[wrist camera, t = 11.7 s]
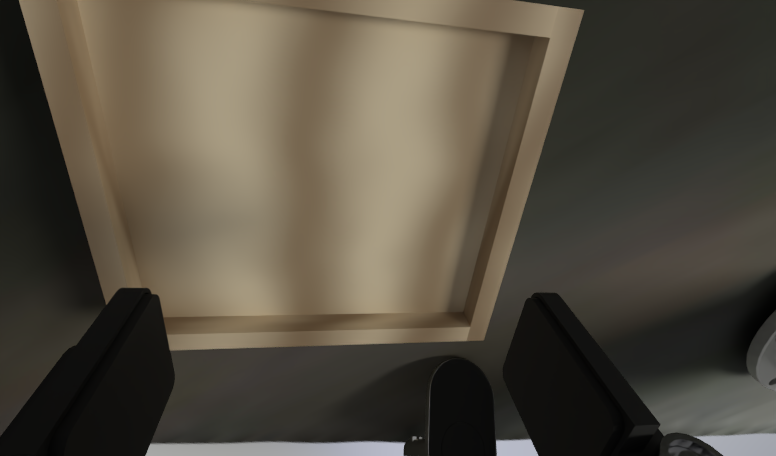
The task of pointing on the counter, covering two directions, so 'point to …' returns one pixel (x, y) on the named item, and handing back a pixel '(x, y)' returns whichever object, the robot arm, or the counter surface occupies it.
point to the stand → (457, 413)
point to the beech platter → (303, 157)
